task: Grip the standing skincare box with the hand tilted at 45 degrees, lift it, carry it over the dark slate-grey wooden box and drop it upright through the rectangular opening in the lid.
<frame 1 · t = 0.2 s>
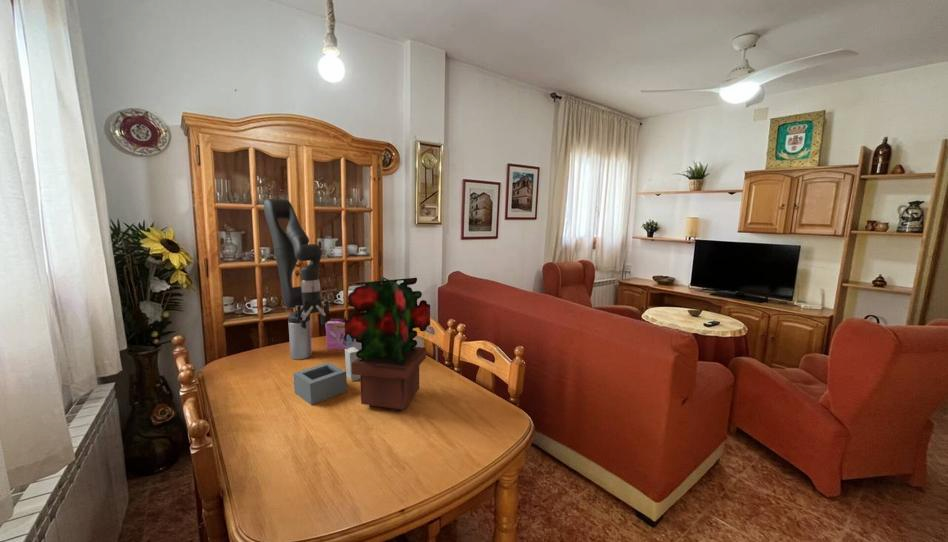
hand: (313, 326, 162), 18 cm above the table, tool pointing down, fingers open, 8 cm apart
potted plant: (391, 401, 134), on the table
skincare box: (353, 378, 152), on the table
gum box: (351, 347, 185), on the table
drop box: (321, 392, 140), on the table
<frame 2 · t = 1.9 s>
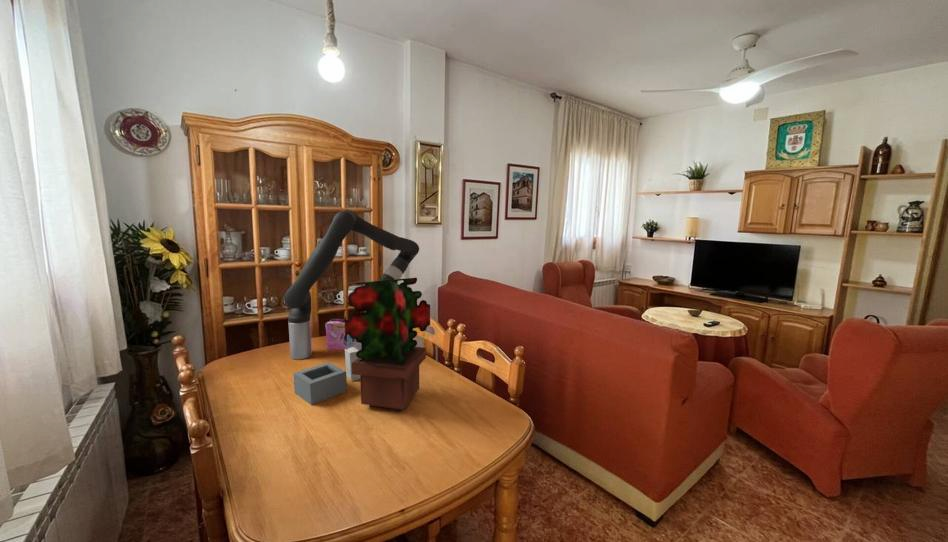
hand: (369, 307, 159), 27 cm above the table, tool tilted 45°, fingers open, 8 cm apart
nothing on the table moved.
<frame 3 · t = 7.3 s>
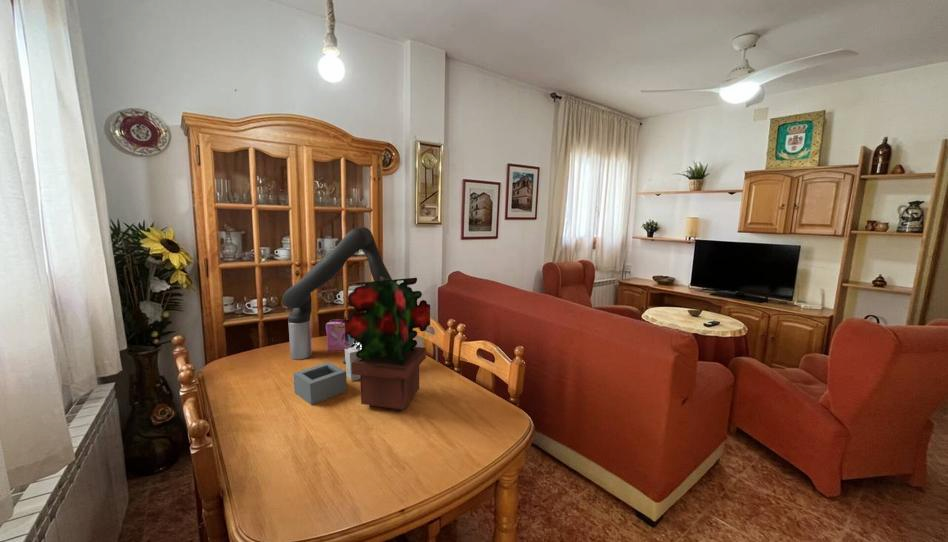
hand: (349, 366, 150), 5 cm above the table, tool tilted 45°, fingers closed on skincare box, 6 cm apart
skincare box: (353, 377, 152), on the table, touching gripper
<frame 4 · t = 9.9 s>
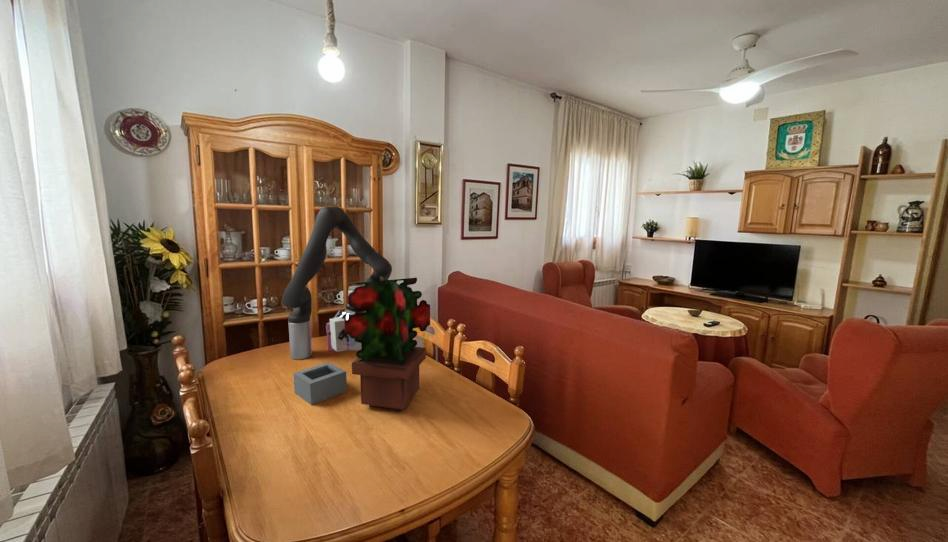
hand: (334, 336, 142), 20 cm above the table, tool tilted 45°, fingers closed on skincare box, 6 cm apart
skincare box: (338, 349, 145), point 14 cm above the table, touching gripper
when the fingers open (15 cm above the table, at t = 12.4 s): skincare box drops 10 cm, resting in drop box.
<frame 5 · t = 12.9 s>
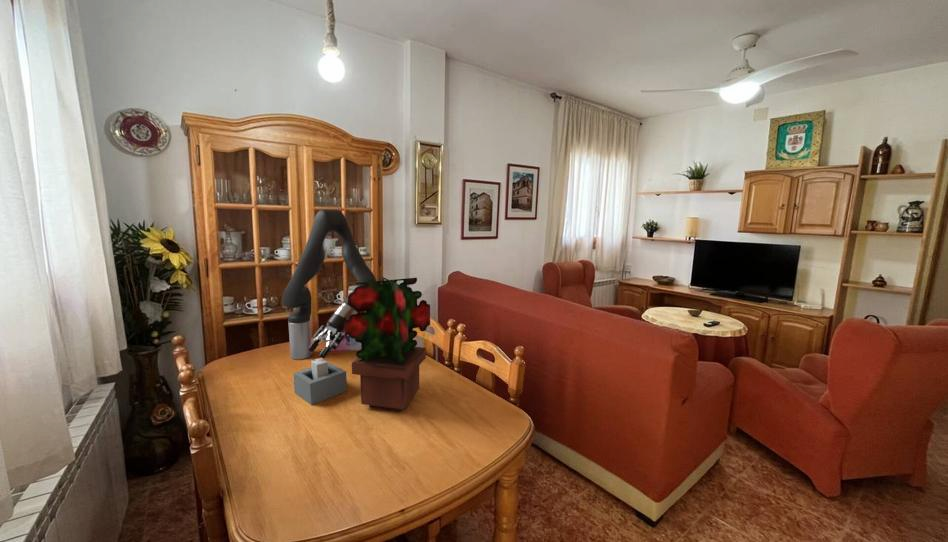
hand: (315, 353, 136), 16 cm above the table, tool tilted 45°, fingers open, 8 cm apart
skincare box: (320, 391, 140), resting in drop box
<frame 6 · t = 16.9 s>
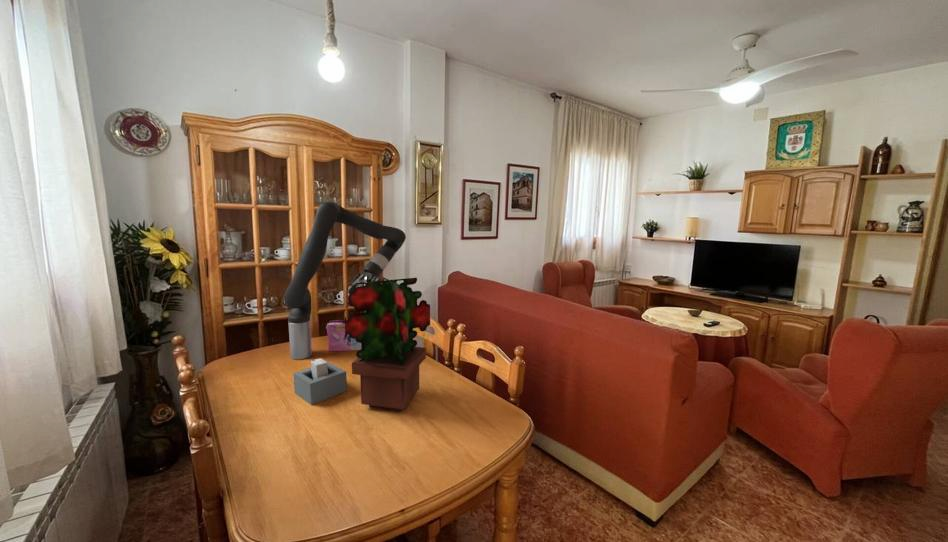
hand: (354, 295, 157), 33 cm above the table, tool tilted 45°, fingers open, 8 cm apart
at the end: skincare box inside the target area on the drop box (0.6 cm from its centre), point 0.0 cm above the drop box's base; the gripper is holding nothing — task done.
